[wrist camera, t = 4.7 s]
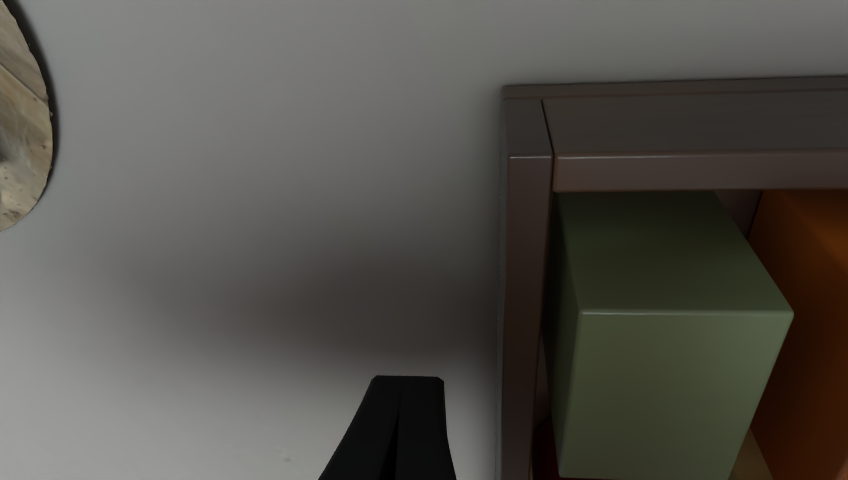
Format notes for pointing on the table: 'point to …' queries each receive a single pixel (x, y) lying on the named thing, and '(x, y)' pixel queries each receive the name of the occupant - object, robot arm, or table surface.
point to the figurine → (21, 125)
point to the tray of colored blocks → (673, 281)
